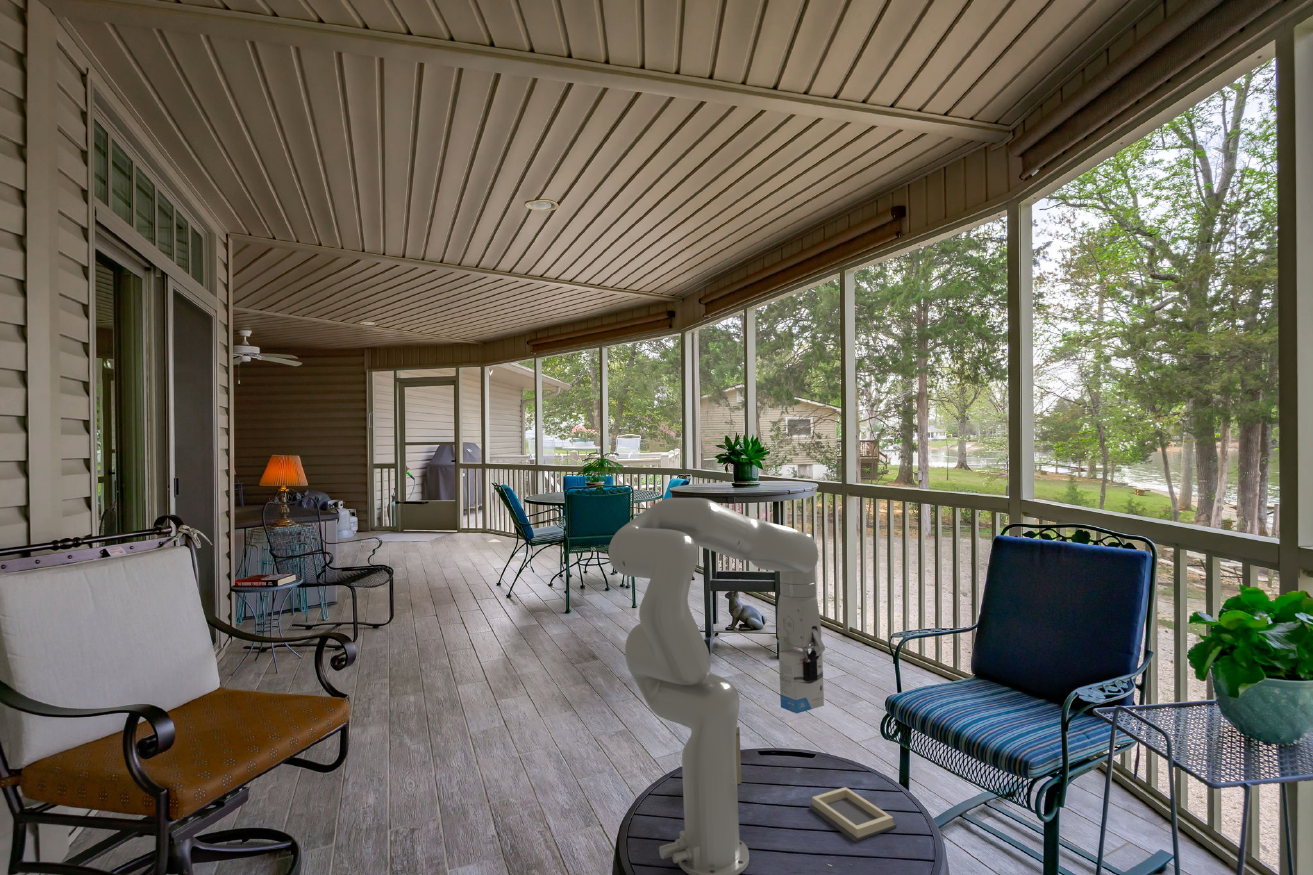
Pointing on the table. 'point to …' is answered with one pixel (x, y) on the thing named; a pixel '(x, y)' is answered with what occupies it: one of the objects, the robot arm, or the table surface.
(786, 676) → the ink box
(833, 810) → the cream picture frame
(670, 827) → the table surface
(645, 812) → the table surface
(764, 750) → the table surface
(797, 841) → the table surface
